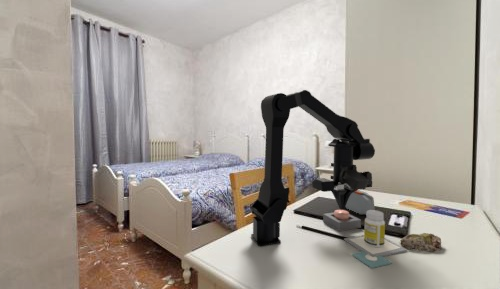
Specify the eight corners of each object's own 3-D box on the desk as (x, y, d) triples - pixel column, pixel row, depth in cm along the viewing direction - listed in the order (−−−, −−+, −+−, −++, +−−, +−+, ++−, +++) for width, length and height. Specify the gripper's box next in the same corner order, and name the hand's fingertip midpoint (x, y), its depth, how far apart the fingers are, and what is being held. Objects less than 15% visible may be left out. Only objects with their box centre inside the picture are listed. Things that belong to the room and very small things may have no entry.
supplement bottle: (379, 239, 66) (380, 209, 65) (387, 248, 61) (389, 216, 61) (361, 238, 66) (362, 209, 66) (367, 247, 62) (369, 215, 61)
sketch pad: (372, 258, 57) (372, 256, 57) (343, 239, 67) (343, 238, 67) (407, 251, 61) (407, 249, 61) (375, 234, 70) (375, 232, 70)
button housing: (339, 231, 72) (339, 223, 72) (323, 221, 80) (323, 213, 80) (360, 227, 75) (361, 219, 75) (343, 218, 83) (343, 211, 82)
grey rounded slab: (375, 218, 83) (376, 195, 82) (368, 219, 82) (369, 196, 81) (345, 205, 96) (345, 185, 96) (339, 206, 95) (339, 186, 95)
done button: (340, 222, 75) (340, 215, 74) (331, 217, 79) (331, 210, 79) (352, 220, 76) (352, 213, 76) (342, 215, 80) (342, 209, 80)
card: (371, 268, 54) (371, 266, 53) (351, 254, 59) (351, 253, 59) (391, 263, 55) (391, 261, 55) (371, 250, 61) (371, 249, 61)
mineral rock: (421, 228, 70) (448, 232, 62) (425, 244, 69) (452, 251, 61) (388, 232, 68) (411, 237, 60) (391, 249, 67) (415, 256, 59)
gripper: (335, 166, 65) (333, 222, 66) (388, 163, 71) (385, 215, 72) (311, 160, 76) (310, 209, 77) (359, 158, 82) (358, 203, 83)
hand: (341, 209), depth 77 cm, fingers closed
